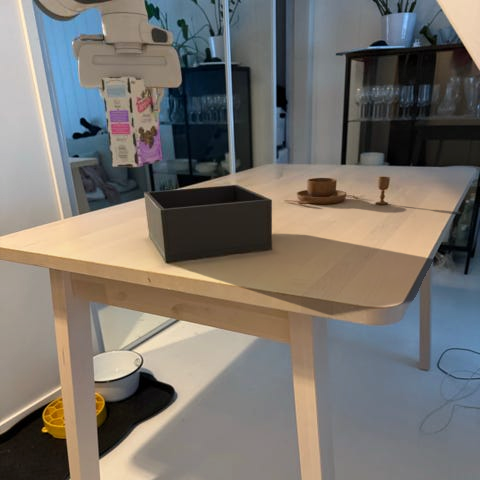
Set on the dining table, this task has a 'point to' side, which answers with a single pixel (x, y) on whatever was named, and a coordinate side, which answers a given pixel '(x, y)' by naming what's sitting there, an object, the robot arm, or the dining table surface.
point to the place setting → (332, 191)
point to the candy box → (131, 122)
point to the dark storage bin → (208, 222)
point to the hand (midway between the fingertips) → (134, 112)
